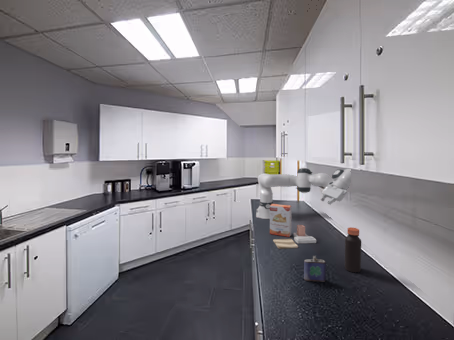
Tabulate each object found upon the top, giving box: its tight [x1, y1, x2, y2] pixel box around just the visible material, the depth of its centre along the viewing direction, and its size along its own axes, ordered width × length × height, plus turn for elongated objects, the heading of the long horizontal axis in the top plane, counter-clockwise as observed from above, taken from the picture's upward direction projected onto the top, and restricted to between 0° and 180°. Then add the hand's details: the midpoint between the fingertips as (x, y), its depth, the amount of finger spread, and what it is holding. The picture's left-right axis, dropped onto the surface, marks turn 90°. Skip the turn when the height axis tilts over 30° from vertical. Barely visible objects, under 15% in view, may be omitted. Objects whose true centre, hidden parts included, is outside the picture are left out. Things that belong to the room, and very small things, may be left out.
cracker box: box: [269, 203, 292, 238], centre depth 153 cm, size 14×6×21 cm, turn 62°
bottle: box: [344, 227, 362, 274], centre depth 105 cm, size 7×7×20 cm
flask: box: [303, 255, 327, 282], centre depth 98 cm, size 9×3×11 cm, turn 83°
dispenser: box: [293, 232, 317, 245], centre depth 144 cm, size 14×12×2 cm
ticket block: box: [296, 224, 306, 236], centre depth 147 cm, size 4×4×8 cm
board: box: [272, 238, 299, 250], centre depth 137 cm, size 12×12×1 cm
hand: (325, 202), depth 146 cm, fingers open, 8 cm apart
